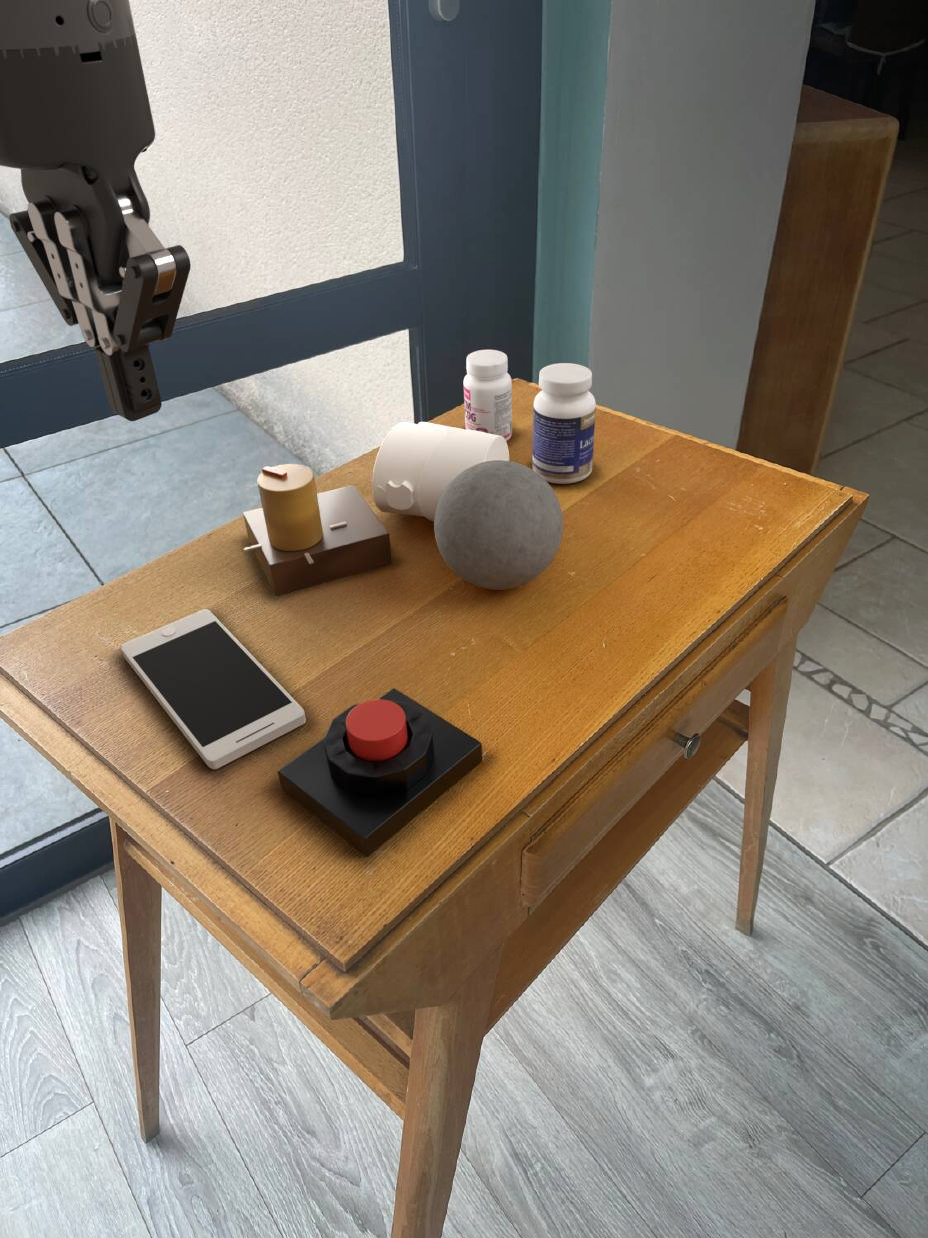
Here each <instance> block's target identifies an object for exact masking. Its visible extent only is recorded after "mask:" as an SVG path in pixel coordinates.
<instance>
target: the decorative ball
mask: <svg viewBox="0 0 928 1238" xmlns="http://www.w3.org/2000/svg"><path fill="white" fill-rule="evenodd" d="M563 518H564V517H563V512H562V507H561V504H560V501H559V499H558V497H557V495H556V493H555V491H554V489H553V487H552V486H551V485H550V484H549V482H547V481H545V479H544V478H543V477H542V476H540V475H539V474H538V473H536V472H535V471H534V470H533V468H530V467H529V466H526V465H524V464H521V463H519V462H516V461H510V460H509V461H503V460H493V461H487V462H482V463H479V464H476V465H474V466H472V467H470V468H468V469H466V470H464V471H463V472H461V473H460V474H459V475H458V476H456V477H455V478H454V479H453V480H452V481H451V482H450V484H449V485H448V486H447V487H446V489H445V490H444V492H443V494H442V496H441V498H440V500H439V502H438V505H437V509H436V513H435V520H434V521H433V527H434V528H433V531H434V536H435V542H436V545H437V548H438V550H439V553H440V555H441V557H442V559H443V560H444V561H445V563H446V564H447V566H448V567H449V568H450V569H451V570H452V571H453V572H454V574H456V575H457V576H458V577H459V578H461V579H462V580H464V581H465V582H467V583H469V584H471V585H474V586H475V587H478V588H483V589H487V590H494V591H495V590H497V591H501V590H509V589H514V588H518V587H521V586H524V585H526V584H528V583H530V582H531V581H533V580H535V579H536V578H538V577H539V576H540V575H542V573H543V572H544V571H545V570H547V569H548V567H549V566H550V565H551V563H552V562H553V560H554V559H555V557H556V556H557V553H558V552H559V549H560V546H561V542H562V539H563V532H564V519H563Z"/></svg>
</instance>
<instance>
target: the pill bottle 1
mask: <svg viewBox="0 0 928 1238" xmlns="http://www.w3.org/2000/svg"><path fill="white" fill-rule="evenodd" d="M508 361H509V360H508V356H507V354H506V353H504V352H503V351H501V350H497V349H480V350H479V349H478V350H476V351H472V352H471V353H469V354H467V356H466V364H465V365H466V366H465V369H466V374H465V376H464V378H463V402H464V404H463V405H464V424H465V425H464V426H465V428H464V429H466V430H475V431H481V432H485V433H488V434H494V435H500V436H502V437H504V439H505V440H506V442H507V441H509V440H510V439H511V437H512V434H513V386H512V385H513V382H512V377H511V375H510V374H509V373H508V369H509V367H508V366H509V365H508V364H509V363H508Z"/></svg>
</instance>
